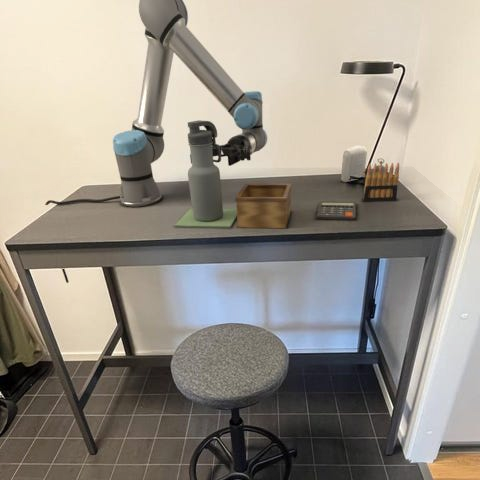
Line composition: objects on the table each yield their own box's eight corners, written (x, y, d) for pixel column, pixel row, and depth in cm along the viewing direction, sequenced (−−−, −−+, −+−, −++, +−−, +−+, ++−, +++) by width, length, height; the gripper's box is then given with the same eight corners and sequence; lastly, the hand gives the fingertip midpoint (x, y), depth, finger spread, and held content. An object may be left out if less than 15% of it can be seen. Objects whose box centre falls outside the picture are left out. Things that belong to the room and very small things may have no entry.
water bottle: (210, 209, 134) (201, 117, 119) (230, 215, 128) (223, 119, 113) (187, 218, 128) (174, 122, 113) (206, 224, 122) (195, 125, 107)
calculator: (316, 215, 122) (320, 200, 134) (316, 218, 122) (319, 203, 134) (355, 216, 119) (355, 201, 131) (355, 219, 120) (355, 204, 132)
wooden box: (237, 227, 120) (235, 198, 115) (246, 211, 133) (244, 183, 128) (286, 228, 117) (286, 198, 112) (291, 211, 130) (291, 183, 125)
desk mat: (174, 227, 124) (174, 225, 124) (190, 210, 137) (189, 208, 137) (230, 228, 120) (230, 226, 120) (240, 210, 133) (240, 208, 133)
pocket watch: (391, 182, 150) (395, 154, 145) (393, 188, 144) (397, 159, 138) (368, 182, 152) (372, 154, 147) (369, 188, 146) (373, 159, 140)
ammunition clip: (363, 201, 134) (367, 164, 127) (362, 199, 135) (366, 163, 129) (396, 200, 133) (402, 163, 126) (394, 198, 134) (400, 161, 127)
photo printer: (357, 176, 160) (360, 143, 153) (365, 178, 157) (369, 144, 150) (339, 181, 156) (341, 147, 149) (347, 183, 153) (350, 149, 146)
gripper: (274, 159, 135) (246, 174, 119) (211, 156, 145) (178, 170, 129) (273, 135, 130) (245, 148, 115) (209, 133, 141) (175, 145, 125)
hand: (209, 160), depth 122 cm, fingers open, 13 cm apart
